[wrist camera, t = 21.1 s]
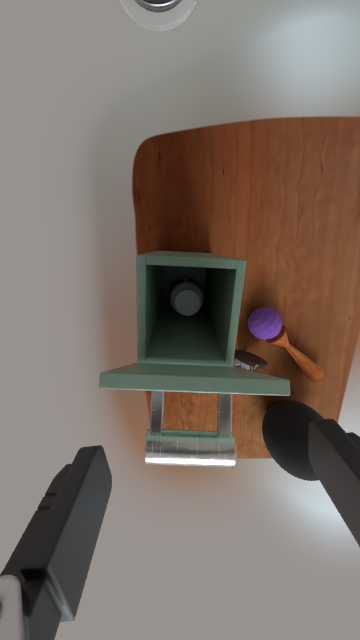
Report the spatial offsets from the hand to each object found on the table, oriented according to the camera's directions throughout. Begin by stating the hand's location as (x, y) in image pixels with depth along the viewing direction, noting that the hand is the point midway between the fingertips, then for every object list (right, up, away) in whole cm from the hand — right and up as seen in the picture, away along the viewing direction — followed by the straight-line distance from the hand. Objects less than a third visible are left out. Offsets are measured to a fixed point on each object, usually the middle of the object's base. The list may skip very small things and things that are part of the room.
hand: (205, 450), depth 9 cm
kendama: (+20, +1, +38) cm, 43 cm away
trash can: (0, +12, +34) cm, 37 cm away
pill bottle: (0, +11, +34) cm, 36 cm away
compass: (+13, -4, +40) cm, 42 cm away
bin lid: (0, +1, +8) cm, 8 cm away
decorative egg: (+22, -15, +43) cm, 51 cm away
